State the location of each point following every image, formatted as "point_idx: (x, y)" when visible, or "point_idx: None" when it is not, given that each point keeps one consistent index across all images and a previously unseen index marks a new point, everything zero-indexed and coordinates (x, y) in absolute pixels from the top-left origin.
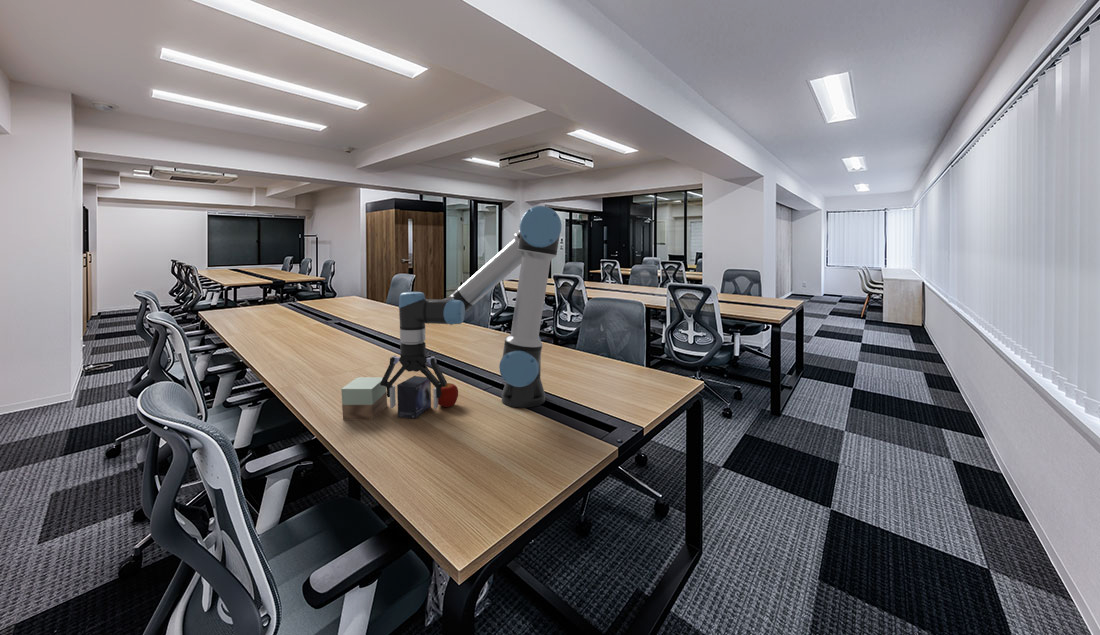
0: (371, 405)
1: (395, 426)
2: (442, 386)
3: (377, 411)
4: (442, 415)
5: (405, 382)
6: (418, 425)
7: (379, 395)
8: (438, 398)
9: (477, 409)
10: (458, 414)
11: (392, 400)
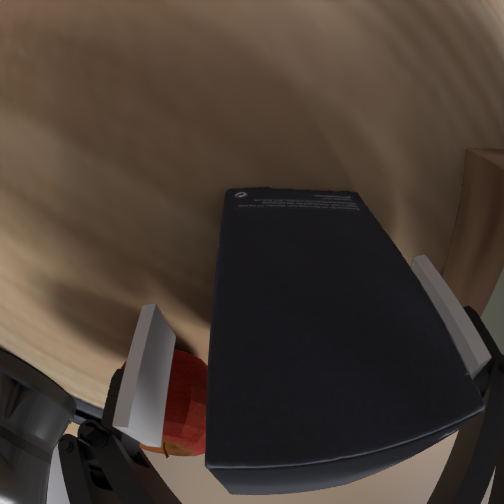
0: None
1: (303, 43)
2: (74, 437)
3: (468, 219)
4: (109, 273)
5: (395, 462)
6: (143, 98)
7: (501, 302)
8: (172, 379)
9: (51, 339)
10: (62, 295)
11: (437, 292)
